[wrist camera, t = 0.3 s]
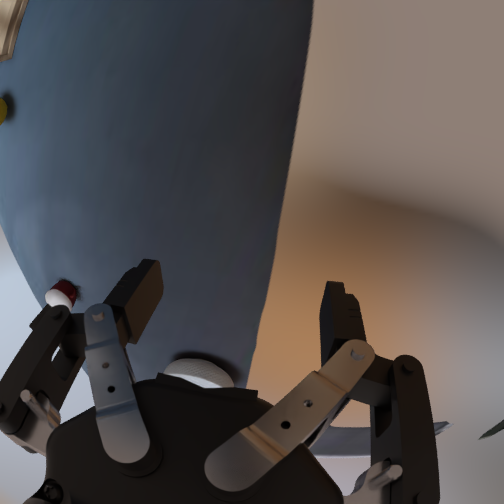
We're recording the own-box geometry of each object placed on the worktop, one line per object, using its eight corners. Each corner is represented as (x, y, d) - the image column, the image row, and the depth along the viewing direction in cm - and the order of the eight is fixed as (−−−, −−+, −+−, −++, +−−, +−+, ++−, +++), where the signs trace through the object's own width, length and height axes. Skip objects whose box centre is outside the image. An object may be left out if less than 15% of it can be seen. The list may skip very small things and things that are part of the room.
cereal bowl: (194, 339, 58) (185, 368, 53) (253, 373, 64) (248, 400, 59) (157, 358, 67) (148, 382, 62) (209, 387, 73) (203, 410, 68)
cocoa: (79, 280, 53) (51, 323, 44) (87, 300, 57) (63, 343, 48) (47, 272, 53) (19, 311, 44) (56, 292, 57) (32, 331, 48)
